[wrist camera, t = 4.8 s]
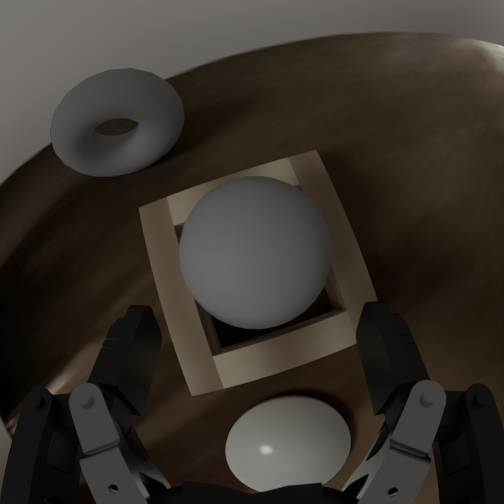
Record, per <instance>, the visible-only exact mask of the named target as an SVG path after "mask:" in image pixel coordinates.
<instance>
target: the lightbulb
mask: <svg viewBox="0 0 504 504" xmlns="http://www.w3.org/2000/svg"><path fill="white" fill-rule="evenodd" d="M331 258H332V249H331V239H330V235H329V231H328V227H327V225H326V223H325V221H324V218H323V216H322V214H321V213H320V211H319V210H318V209H317V207H316V206H315V205H314V203H313V202H312V201H311V200H310V199H309V198H308V197H307V196H306V195H305V194H304V193H303V192H302V191H300V190H299V189H297V188H295V187H294V186H292V185H291V184H289V183H286V182H284V181H281V180H278V179H276V178H270V177H264V176H246V177H241V178H236V179H232V180H230V181H227V182H225V183H222V184H220V185H218V186H217V187H215V188H214V189H212V190H210V191H209V192H208V193H207V194H206V195H205V196H203V197H202V198H201V199H200V200H199V201H198V203H197V204H196V205H195V207H194V208H193V209H192V211H191V212H190V214H189V216H188V218H187V220H186V222H185V224H184V227H183V231H182V235H181V239H180V247H179V260H180V267H181V272H182V275H183V277H184V280H185V283H186V285H187V287H188V289H189V290H190V292H191V294H192V295H193V297H194V299H195V300H196V301H197V302H198V303H199V304H200V305H201V306H202V307H203V309H204V310H205V311H207V312H208V313H210V314H211V315H212V316H214V317H215V318H217V319H218V320H220V321H223V322H225V323H227V324H229V325H232V326H236V327H241V328H246V329H265V328H270V327H275V326H279V325H281V324H284V323H286V322H288V321H291V320H293V319H294V318H296V317H297V316H299V315H300V314H301V313H303V312H304V311H306V309H307V308H308V307H309V306H310V305H311V304H312V303H313V302H314V301H315V300H316V299H317V297H318V295H319V294H320V292H321V291H322V289H323V288H324V285H325V282H326V280H327V277H328V274H329V271H330V264H331Z"/></svg>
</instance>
